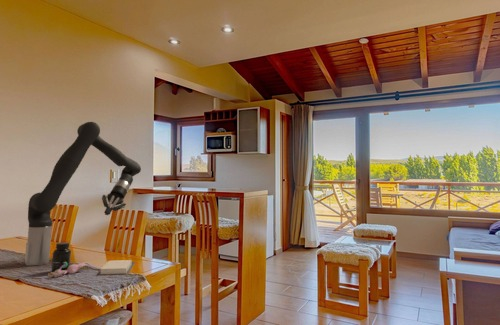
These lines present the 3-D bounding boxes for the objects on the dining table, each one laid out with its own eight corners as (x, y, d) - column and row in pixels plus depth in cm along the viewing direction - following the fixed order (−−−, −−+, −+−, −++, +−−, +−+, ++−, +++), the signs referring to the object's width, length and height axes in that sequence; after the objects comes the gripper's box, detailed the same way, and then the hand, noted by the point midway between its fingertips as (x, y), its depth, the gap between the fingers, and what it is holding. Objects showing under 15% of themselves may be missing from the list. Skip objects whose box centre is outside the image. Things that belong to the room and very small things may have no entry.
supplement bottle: (50, 274, 130) (52, 245, 131) (51, 270, 136) (54, 242, 137) (69, 272, 133) (71, 244, 134) (70, 268, 139) (72, 241, 140)
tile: (108, 260, 144) (100, 268, 130) (131, 260, 146) (126, 268, 132) (108, 265, 144) (100, 274, 129) (131, 265, 146) (126, 273, 132)
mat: (108, 264, 149) (108, 262, 149) (135, 263, 152) (135, 262, 152) (96, 277, 128) (97, 275, 128) (128, 275, 131) (128, 274, 131)
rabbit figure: (52, 283, 123) (91, 270, 134) (50, 268, 123) (90, 256, 134) (46, 280, 127) (85, 267, 138) (45, 265, 127) (84, 254, 138)
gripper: (110, 180, 167) (95, 204, 154) (133, 190, 171) (121, 215, 157) (107, 188, 172) (91, 213, 158) (130, 198, 175) (117, 223, 162)
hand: (106, 214), depth 158 cm, fingers closed
